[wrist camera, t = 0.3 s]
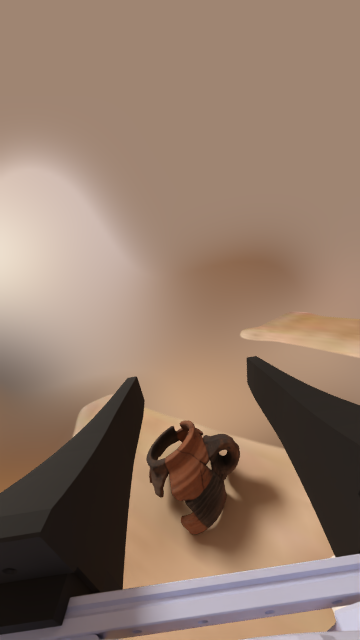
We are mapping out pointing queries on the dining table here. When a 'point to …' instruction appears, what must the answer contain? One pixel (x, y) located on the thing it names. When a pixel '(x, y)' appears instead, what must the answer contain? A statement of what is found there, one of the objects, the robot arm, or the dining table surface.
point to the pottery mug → (194, 472)
